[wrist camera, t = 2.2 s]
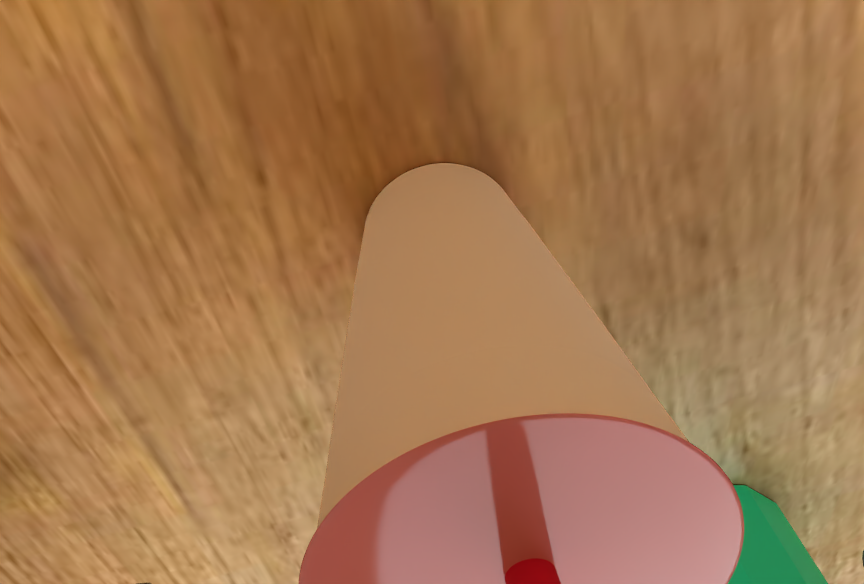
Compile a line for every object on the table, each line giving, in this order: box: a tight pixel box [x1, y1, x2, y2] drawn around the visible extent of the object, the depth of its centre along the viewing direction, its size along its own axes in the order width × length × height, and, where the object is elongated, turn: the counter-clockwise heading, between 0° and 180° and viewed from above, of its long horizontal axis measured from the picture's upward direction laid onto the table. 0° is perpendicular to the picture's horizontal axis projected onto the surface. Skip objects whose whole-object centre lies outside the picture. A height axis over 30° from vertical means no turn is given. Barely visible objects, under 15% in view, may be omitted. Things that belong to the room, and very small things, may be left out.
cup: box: [299, 163, 744, 584], centre depth 11 cm, size 5×5×12 cm
